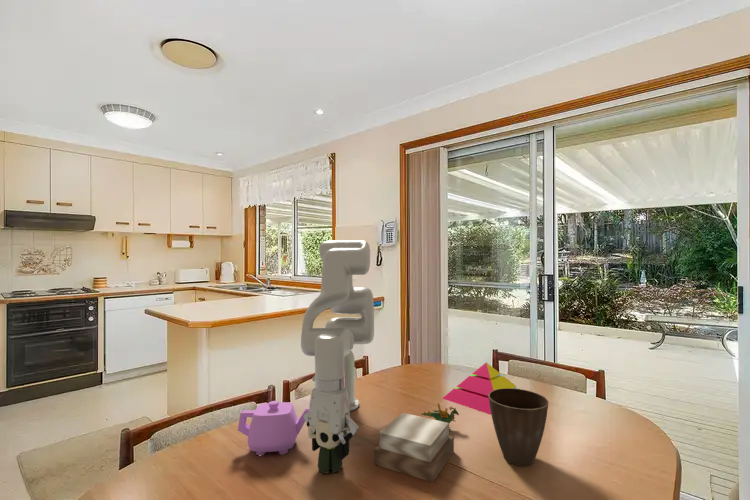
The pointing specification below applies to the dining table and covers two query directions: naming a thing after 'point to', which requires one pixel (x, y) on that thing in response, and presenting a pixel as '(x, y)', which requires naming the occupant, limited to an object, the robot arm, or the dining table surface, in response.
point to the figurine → (442, 414)
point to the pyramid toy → (479, 388)
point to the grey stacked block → (415, 446)
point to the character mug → (327, 447)
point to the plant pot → (518, 423)
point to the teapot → (271, 427)
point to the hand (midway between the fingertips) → (330, 452)
